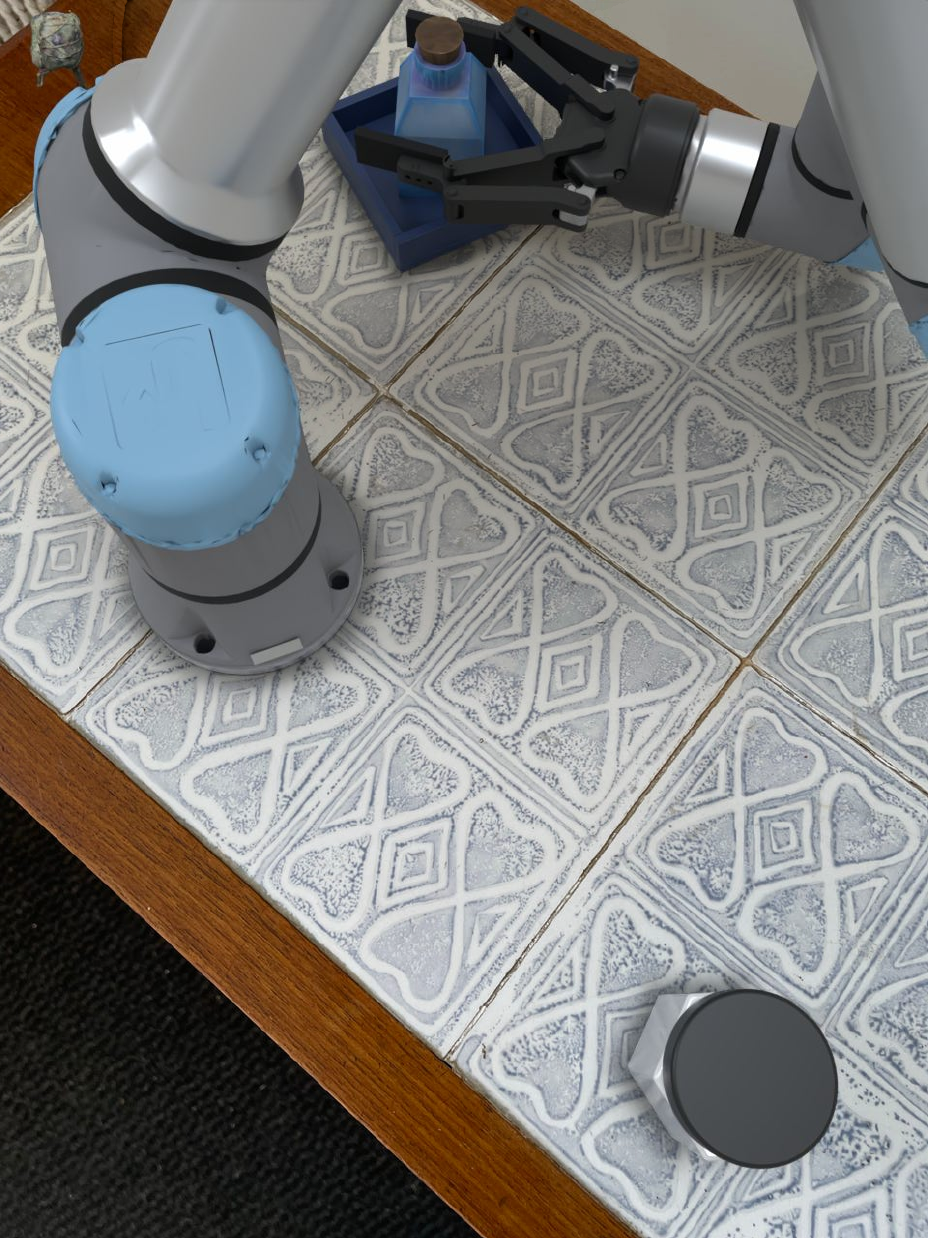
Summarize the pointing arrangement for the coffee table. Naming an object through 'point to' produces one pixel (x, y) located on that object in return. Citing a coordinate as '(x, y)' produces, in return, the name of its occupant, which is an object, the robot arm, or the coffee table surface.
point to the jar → (737, 1075)
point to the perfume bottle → (441, 96)
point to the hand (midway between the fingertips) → (382, 84)
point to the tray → (399, 220)
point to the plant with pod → (57, 44)
